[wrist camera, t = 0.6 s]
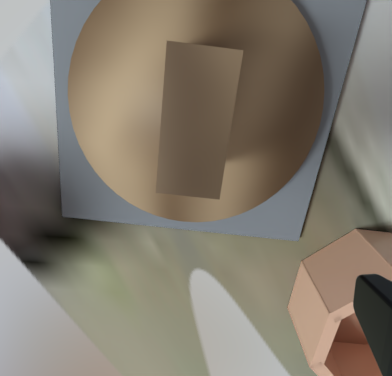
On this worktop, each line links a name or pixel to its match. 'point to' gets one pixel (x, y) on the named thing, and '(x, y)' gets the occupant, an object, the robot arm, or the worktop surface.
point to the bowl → (338, 303)
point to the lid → (196, 102)
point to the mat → (238, 225)
